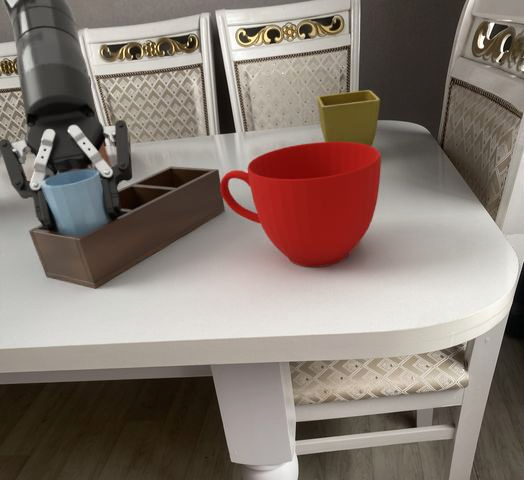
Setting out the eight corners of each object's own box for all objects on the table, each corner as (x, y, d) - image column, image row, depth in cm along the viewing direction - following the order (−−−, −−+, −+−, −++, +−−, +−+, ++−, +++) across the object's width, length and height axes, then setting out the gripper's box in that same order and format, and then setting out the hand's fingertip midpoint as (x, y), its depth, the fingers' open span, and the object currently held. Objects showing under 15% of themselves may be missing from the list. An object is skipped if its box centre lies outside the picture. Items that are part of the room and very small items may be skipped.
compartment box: (46, 276, 60) (28, 230, 57) (178, 205, 76) (170, 166, 73) (95, 288, 56) (79, 239, 53) (225, 210, 72) (218, 169, 69)
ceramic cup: (252, 227, 65) (241, 144, 60) (390, 232, 59) (392, 139, 54) (206, 274, 56) (188, 180, 50) (365, 285, 50) (364, 179, 44)
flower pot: (380, 160, 83) (380, 98, 78) (324, 167, 83) (321, 105, 78) (370, 146, 90) (370, 89, 85) (319, 153, 91) (316, 96, 86)
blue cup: (57, 263, 60) (28, 184, 55) (97, 242, 64) (73, 167, 59) (93, 271, 57) (66, 188, 52) (132, 249, 61) (110, 170, 56)
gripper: (-26, 71, 55) (-3, 218, 52) (113, 51, 56) (143, 191, 53) (4, 117, 62) (26, 248, 59) (126, 98, 64) (153, 224, 61)
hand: (81, 220), depth 56 cm, fingers closed on blue cup, 6 cm apart
